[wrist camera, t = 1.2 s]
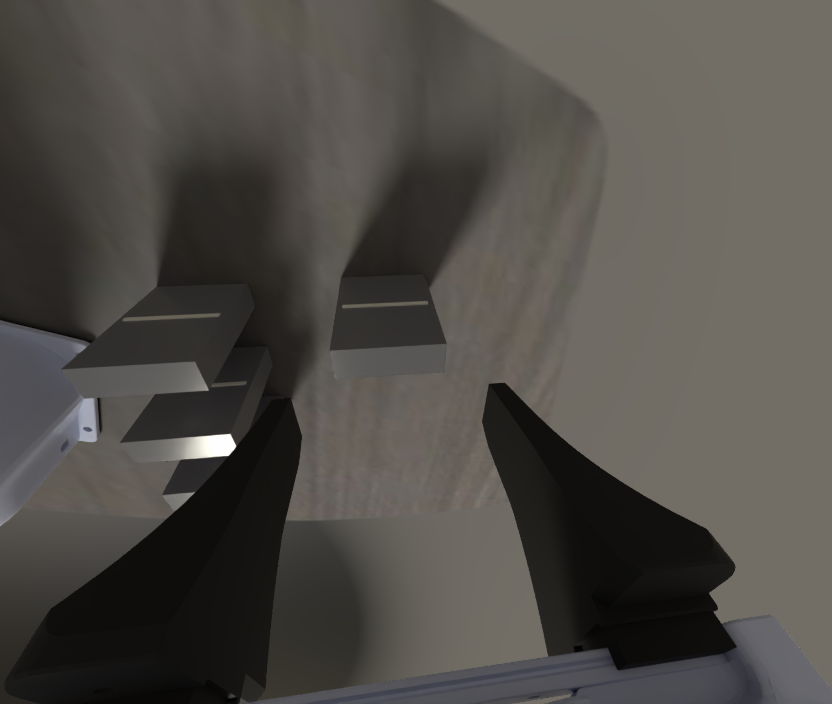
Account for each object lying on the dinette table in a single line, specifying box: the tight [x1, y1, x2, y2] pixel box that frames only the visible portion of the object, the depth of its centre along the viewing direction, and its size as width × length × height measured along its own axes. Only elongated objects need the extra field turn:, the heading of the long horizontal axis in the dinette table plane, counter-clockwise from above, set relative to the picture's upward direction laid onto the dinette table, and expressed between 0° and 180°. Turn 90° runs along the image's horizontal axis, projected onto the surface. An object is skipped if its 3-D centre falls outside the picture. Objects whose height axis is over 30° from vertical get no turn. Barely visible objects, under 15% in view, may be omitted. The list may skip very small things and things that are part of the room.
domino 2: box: [120, 346, 273, 463], centre depth 20 cm, size 2×5×8 cm, turn 90°
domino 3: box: [162, 395, 284, 510], centre depth 22 cm, size 2×5×8 cm, turn 89°
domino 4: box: [330, 274, 447, 379], centre depth 18 cm, size 2×5×8 cm, turn 90°
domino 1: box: [61, 283, 255, 399], centre depth 17 cm, size 2×5×8 cm, turn 90°
